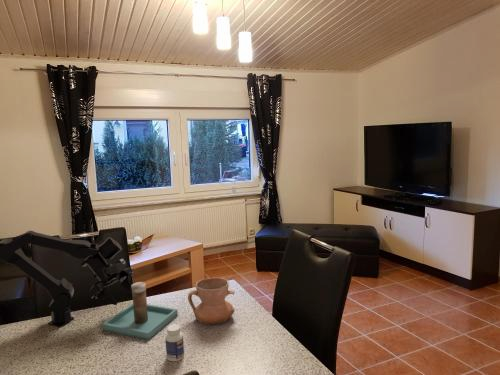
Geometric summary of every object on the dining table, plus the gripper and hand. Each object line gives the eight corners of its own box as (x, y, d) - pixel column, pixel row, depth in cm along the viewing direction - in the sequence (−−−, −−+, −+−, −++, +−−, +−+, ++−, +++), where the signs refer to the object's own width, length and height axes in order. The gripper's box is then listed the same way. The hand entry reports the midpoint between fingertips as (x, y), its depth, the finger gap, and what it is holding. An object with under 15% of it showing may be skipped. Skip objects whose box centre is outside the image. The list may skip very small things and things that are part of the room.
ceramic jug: (239, 310, 140) (237, 275, 138) (232, 329, 126) (230, 291, 124) (195, 309, 143) (193, 275, 141) (183, 328, 129) (180, 290, 127)
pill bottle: (180, 362, 108) (178, 332, 107) (163, 361, 109) (161, 331, 108) (186, 352, 113) (185, 323, 112) (171, 351, 115) (169, 322, 113)
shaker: (131, 322, 132) (128, 286, 130) (140, 316, 136) (137, 281, 134) (142, 325, 130) (139, 288, 128) (151, 318, 134) (148, 282, 132)
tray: (102, 330, 128) (101, 323, 128) (135, 307, 145) (135, 302, 145) (148, 340, 121) (148, 333, 121) (177, 315, 138) (177, 309, 137)
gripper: (91, 262, 125) (118, 297, 123) (128, 247, 142) (152, 277, 140) (76, 281, 129) (102, 315, 127) (114, 264, 146) (137, 293, 144)
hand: (125, 299), depth 134 cm, fingers open, 9 cm apart
